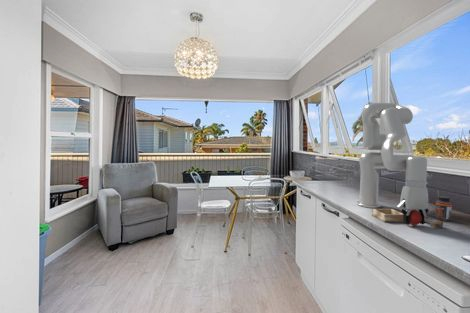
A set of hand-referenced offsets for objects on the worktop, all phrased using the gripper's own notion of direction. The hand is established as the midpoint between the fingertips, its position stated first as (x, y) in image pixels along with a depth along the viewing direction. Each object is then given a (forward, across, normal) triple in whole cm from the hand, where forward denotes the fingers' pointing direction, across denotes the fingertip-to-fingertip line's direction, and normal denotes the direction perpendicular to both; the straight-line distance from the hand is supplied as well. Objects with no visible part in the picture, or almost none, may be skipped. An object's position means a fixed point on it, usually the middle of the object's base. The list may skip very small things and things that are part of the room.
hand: (413, 223), depth 110 cm
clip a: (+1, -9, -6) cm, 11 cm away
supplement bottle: (+1, -21, -8) cm, 23 cm away
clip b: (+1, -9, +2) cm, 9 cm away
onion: (+1, 0, 0) cm, 1 cm away
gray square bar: (+1, -9, -2) cm, 9 cm away
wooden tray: (+1, +5, -10) cm, 11 cm away
